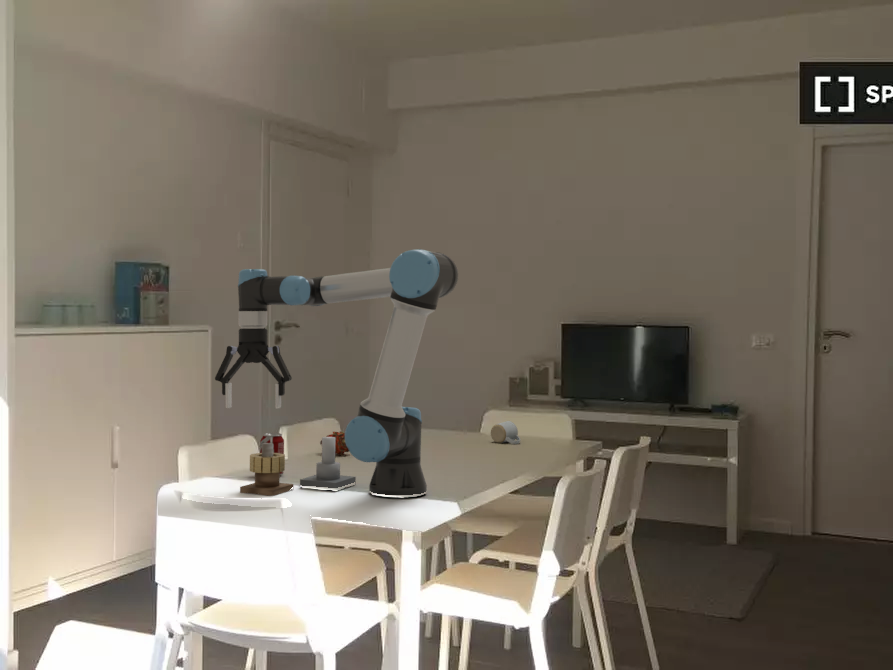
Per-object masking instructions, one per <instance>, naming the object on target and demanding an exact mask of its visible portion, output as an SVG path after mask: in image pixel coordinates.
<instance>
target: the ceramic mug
mask: <svg viewBox="0 0 893 670" xmlns="http://www.w3.org/2000/svg"><path fill="white" fill-rule="evenodd" d="M518 434H519V431H518V426H517V425H516V424H515V423H514V422H512V421H510V420H507V421H503V422H499V423H496V424H495V425H493V426H492V427H491V429H490V436H491V439H492V440H493V441H494V442H495V443H497V444H504V443H509V444H512V445H518V444H520V442H521V438H520V436H519V435H518Z"/></svg>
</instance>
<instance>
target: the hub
mask: <svg viewBox="0 0 893 670" xmlns="http://www.w3.org/2000/svg"><path fill="white" fill-rule="evenodd" d="M321 440H322V445H321V461H318V462H316V464H315V466H316V473H315V474H313V475H311V476H308V477H304V478H300V479H299V486H300V485H302V486H316V487H328V488H338V487H342V486H345V485H348V484H351V483H354V482H355V483H356V481H357V480H356V479H357V476H351V475H341V463H340V462H338V461H336V454H335V437H326V436H323V437H321Z"/></svg>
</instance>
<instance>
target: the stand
mask: <svg viewBox="0 0 893 670" xmlns="http://www.w3.org/2000/svg"><path fill="white" fill-rule="evenodd" d="M262 456H264V457H270V456H273V443H263V444H262ZM280 477H281V476H280V472H278V473H254V482H253V483H250V484H245V485H242V486H241V485H240V486H239V493H241V494H248V495H249V494H253V495H259V496H261V495H262V496H269V497H273V496H277V495H278V496H279V495H281V494H283V493H284V494H285V493H287V492H290V491H289V490H290V489H291V488H292V487H293V488H294V484H293V483H286V482H280Z"/></svg>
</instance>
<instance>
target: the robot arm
mask: <svg viewBox="0 0 893 670" xmlns="http://www.w3.org/2000/svg"><path fill="white" fill-rule="evenodd" d="M458 280H459V270H458V266H457V264H456V263H455V261H454V260H453V259H452V258H451V257H450V256H448V255H447V254H444V253H442V252H437V251H436V252H435V251H430V250H427V249H426V250H425V249H421V248H419V249H418V248H416V249H410V250H405V251H404V252H402V253H400V254H399V255H398V256H397V257H395V259H394V260H393V262H392V263H391V266H390V267H388V268H387V267H386V268H380V269H373V270H372V269H371V270H365V271H364V270H363V271H356V272H355V271H354V272H347V273H338V274H333V275H325V276H315V277H304V276H302V275H282V276H269V275H268V272H267V269H262V268H252V269H251V268H245V269H244V268H243V269H241V270H240V271H239V272H238V283H237V284H238V285H237V290H238V291H237V292H238V327H240V328H239V329H238V346H234V345H228V346H226V354H225V356H224V358H223V360H222V363H221V364H220V366H219V369H218V370H217V373H216V374H215V377H214V380H215V381H217V382H220V383H221V394H222V396H225V409H231V408H233V399H232V398H233V395H232V394H233V390H232V389H233V383H232V382H230V381H231V380H232V379H233V377H234V376H235V374H236V373H237V372H238V371H239V369H241V368H242V366H243V365H244V364H245V363H246V364H250V363H251V364H252V363H255V364H259V363H261V364H262V365H263V366H264V367H265V368H266V369H267V370H268V372H269V373H270V374H271V375H272V377H273V378H274V379H275V380H276V381H277V383H274V384H275V386H274V387H275V391H274V392H275V393H274V394H275V399H274V400H275V401H274V402H275V403H274V405H275V408H274V409H276V410H277V409H282V396H285V394H286V391H285V390H286V385H285V384H286V383H287V382H290V381H291V380H292V379H293V378H292V375H291V373H290V371H289V369H288V368H287V365H286V363H285V361H284V359H283V357H282V355H281V350H280V348H281V347H280V346H279V345H273V346H270V347H269V345H268V336H269V335H268V333H269V332H268V329H267V328H266V327H267V326H268V306H309V307H310V306H311V307H321V306H323V305H327V304H334V303H335V304H336V303H345V302H354V301H362V300H363V301H364V300H373V299H381V298H389V299H390V301H391V303H392V304H393V309H392V312H391V316H390V320H389V323H388V326H387V331H386V334H385V337H384V340H383V344H382V347H381V351H380V356H379V359H378V362H377V366H376V369H375V373H374V377H373V380H372V384H371V386H370V391H369V394H368V397H367V398H365V399H364V400H362V401H360V404H359V407H358V411H357V414H356V416H355V417H354V418H352V419H351V420H350V421H349V422H348V424H347V425H346V428H345V431H344V433H345V443H346V446H347V447H348V449H349V452H348V453H350V454H351V455H352V456H353V458H354V459H356V460H358V461H361V462H363V463H375V467H374V470H373V473H372V475H371V479H370V482H369V486H368V492H369V491H371V492H373V493H377V494H385V495H413V494H421V493H424V492H426V491H427V490H428V489H427V488H428V487H427V486H428V485H427V482H426V479H425V475H424V472H423V469H422V465H421V456H422V455H421V454H422V453H421V451H422V448H421V447H422V424H423V420H422V412H421V410H420V409H419V408H417V407H410V406H403V402H404V400H405V397H406V396H405V395H406V393H407V389H408V385H409V382H410V378H411V374H412V371H413V368H414V364H415V360H416V357H417V354H418V350H419V347H420V343H421V340H422V336H423V332H424V330H425V325H426V322H427V319H428V317H429V315H431V314H432V313H435V312H436V309H437V307H438V302H439V300H440V298H441V299H442V298H444V297H446V296H448V295H449V294H450V293H452V292H453V291H454V290H455V288H456V286H457V284H458ZM269 352H270V354H271V355H273V359H274V361H275V362H276V364H277V367H278V368H279V370H280V372H281V373H280V372H279V370H278V369H277V368H276V367H275V365H274V364H273V363H272V362H271V360H270V358H269V357H268V356H267V355H268V354H269ZM236 353H238V355H239V357H238V359H236V361H235V363H234V364H233V365H232V367H231V368H230V369H229V370H228V367H229V366H230V364H231V362H232V360H233V357H234V355H236ZM226 372H227V373H226ZM427 492H428V491H427Z"/></svg>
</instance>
